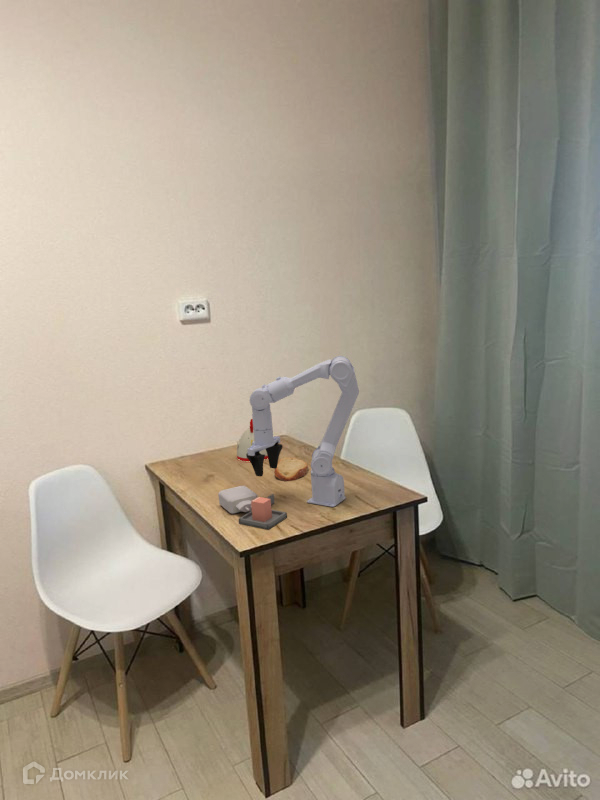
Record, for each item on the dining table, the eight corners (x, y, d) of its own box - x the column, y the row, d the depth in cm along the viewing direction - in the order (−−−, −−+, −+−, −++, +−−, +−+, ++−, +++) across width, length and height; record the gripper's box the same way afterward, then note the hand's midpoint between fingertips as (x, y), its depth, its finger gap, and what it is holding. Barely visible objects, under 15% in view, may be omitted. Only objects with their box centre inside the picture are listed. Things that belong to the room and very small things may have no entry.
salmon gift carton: (272, 517, 166) (270, 498, 164) (264, 521, 163) (263, 503, 161) (260, 514, 168) (258, 496, 167) (252, 519, 165) (251, 501, 164)
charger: (237, 521, 165) (219, 505, 179) (266, 513, 170) (247, 498, 183) (235, 505, 165) (217, 491, 178) (265, 498, 169) (245, 484, 182)
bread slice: (289, 461, 219) (289, 451, 219) (324, 469, 207) (324, 459, 206) (253, 474, 207) (252, 464, 206) (288, 484, 195) (287, 473, 194)
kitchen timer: (234, 463, 220) (231, 424, 217) (239, 452, 234) (236, 416, 231) (271, 461, 219) (268, 422, 216) (274, 450, 233) (271, 414, 230)
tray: (287, 517, 166) (286, 512, 166) (268, 529, 159) (268, 524, 158) (258, 511, 172) (257, 507, 171) (239, 523, 164) (238, 518, 164)
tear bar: (274, 503, 177) (273, 494, 177) (262, 510, 172) (262, 500, 172) (271, 502, 178) (270, 493, 177) (259, 509, 173) (258, 500, 173)
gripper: (265, 421, 182) (269, 463, 184) (237, 433, 170) (241, 477, 172) (284, 423, 178) (287, 465, 181) (257, 435, 166) (261, 480, 169)
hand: (266, 471), depth 176 cm, fingers open, 7 cm apart
